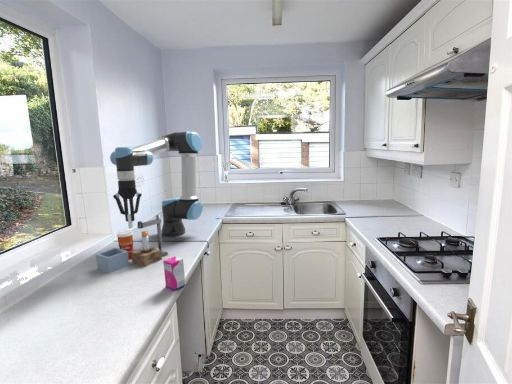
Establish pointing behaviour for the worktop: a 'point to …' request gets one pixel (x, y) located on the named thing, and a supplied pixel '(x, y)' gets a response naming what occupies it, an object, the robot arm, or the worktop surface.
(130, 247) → the paper cup
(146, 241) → the pin
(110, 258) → the blue open box
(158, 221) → the grey tall angled piece
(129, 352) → the worktop surface
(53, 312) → the worktop surface
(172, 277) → the supplement box
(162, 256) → the base
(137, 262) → the socket block
